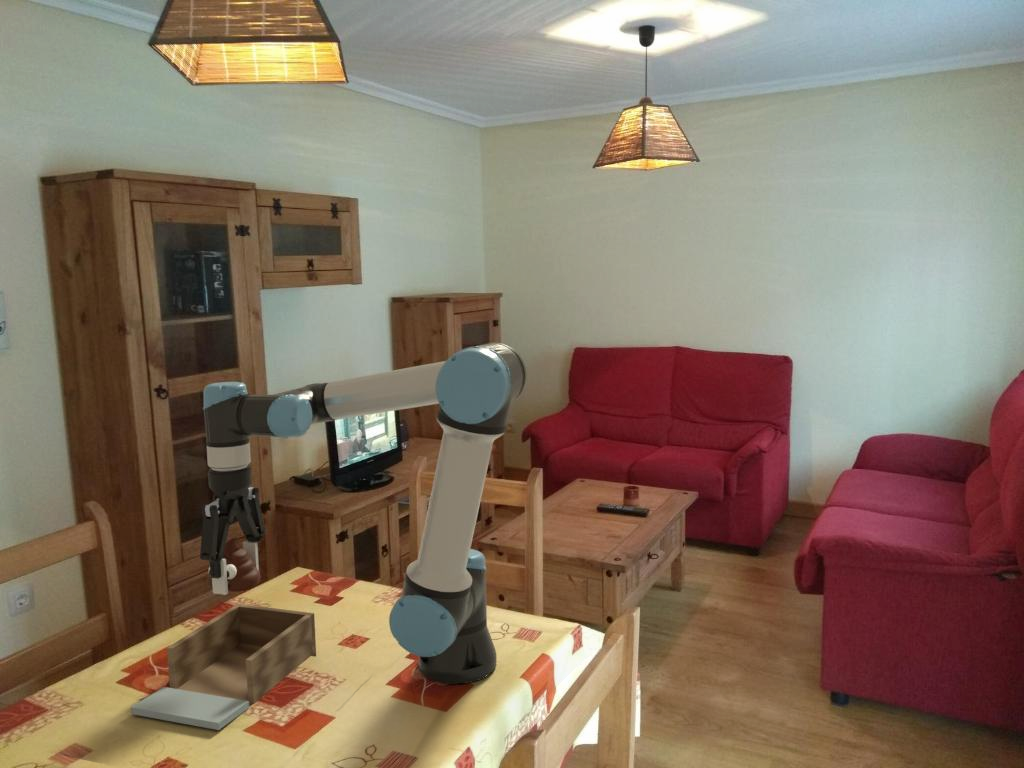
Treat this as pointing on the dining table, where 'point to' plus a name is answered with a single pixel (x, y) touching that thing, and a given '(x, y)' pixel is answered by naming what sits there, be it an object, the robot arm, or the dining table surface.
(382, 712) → the dining table surface
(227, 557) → the poop emoji
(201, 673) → the box
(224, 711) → the door
